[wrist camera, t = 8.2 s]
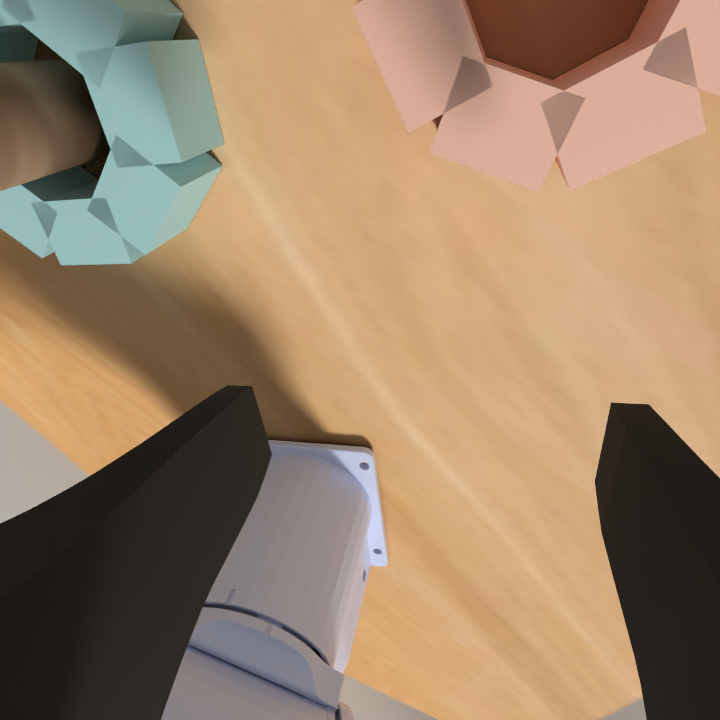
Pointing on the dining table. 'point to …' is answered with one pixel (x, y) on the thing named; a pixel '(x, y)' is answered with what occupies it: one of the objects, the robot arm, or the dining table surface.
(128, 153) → the teal bead
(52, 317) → the dining table surface
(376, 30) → the coral bead
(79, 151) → the dowel
